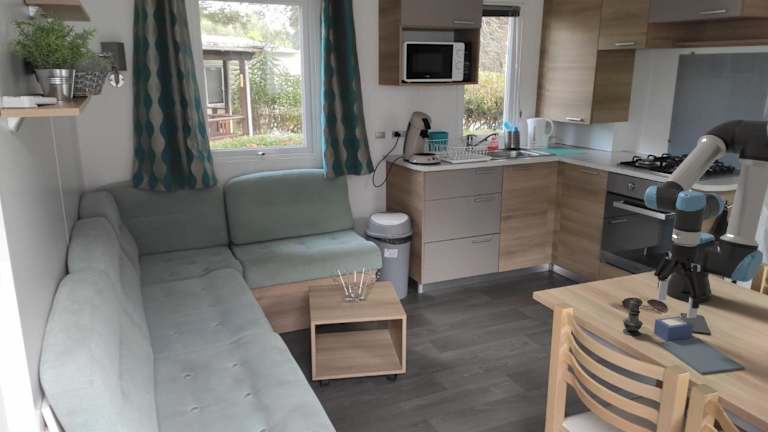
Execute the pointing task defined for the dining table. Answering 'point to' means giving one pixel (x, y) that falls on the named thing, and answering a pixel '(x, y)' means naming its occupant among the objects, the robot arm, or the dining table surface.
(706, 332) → the smartphone
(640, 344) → the dining table surface
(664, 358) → the dining table surface
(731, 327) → the dining table surface
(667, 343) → the mat
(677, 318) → the card deck
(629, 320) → the salt shaker
